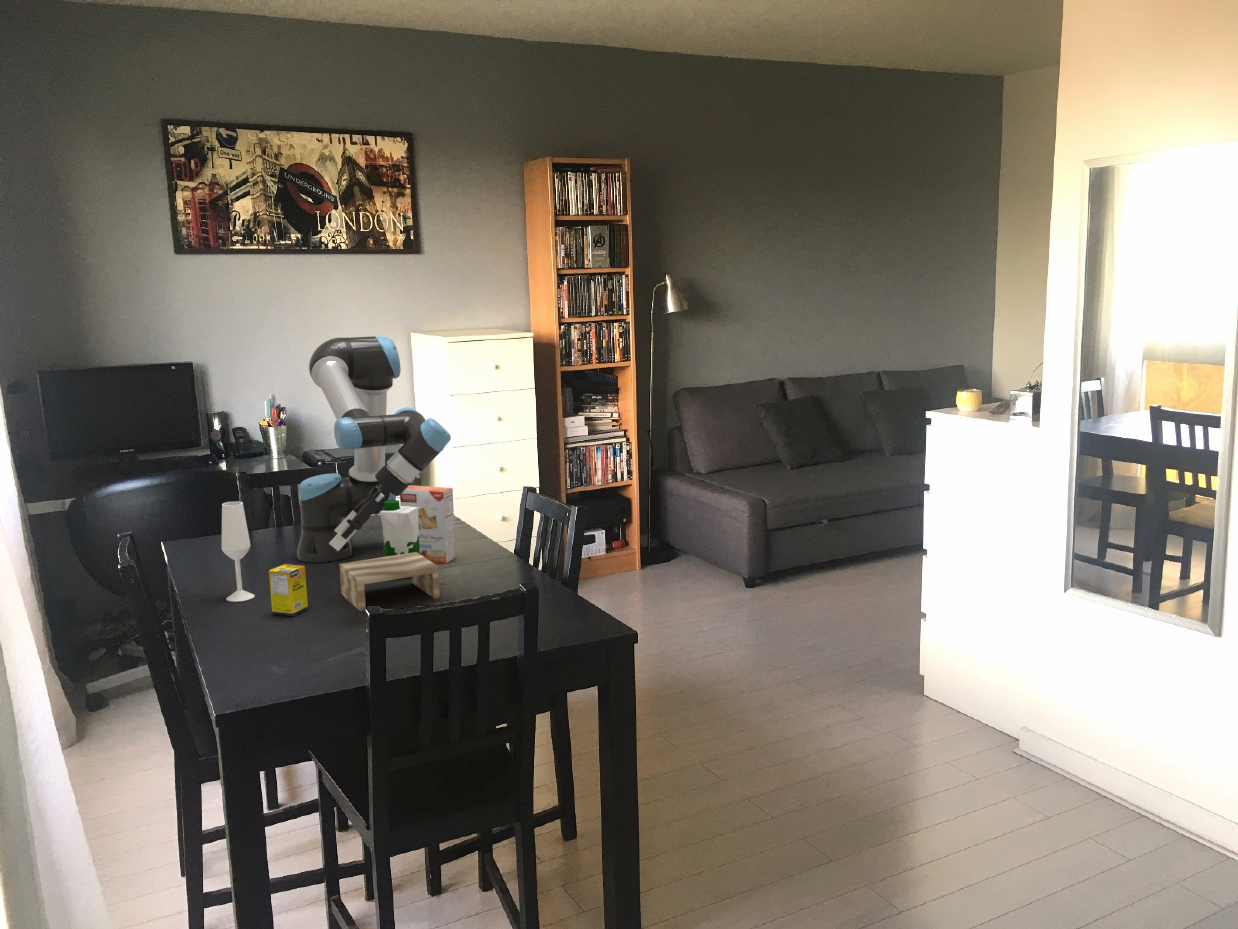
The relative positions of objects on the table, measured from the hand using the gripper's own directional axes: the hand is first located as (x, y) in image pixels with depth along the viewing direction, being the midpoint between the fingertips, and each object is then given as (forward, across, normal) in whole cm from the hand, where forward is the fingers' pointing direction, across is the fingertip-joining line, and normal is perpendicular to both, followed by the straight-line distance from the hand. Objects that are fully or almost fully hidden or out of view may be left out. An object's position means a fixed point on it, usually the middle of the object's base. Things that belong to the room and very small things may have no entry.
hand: (336, 540), depth 229 cm
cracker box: (-3, +40, -27) cm, 48 cm away
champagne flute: (+30, +16, +6) cm, 34 cm away
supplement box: (+20, 0, -4) cm, 21 cm away
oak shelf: (+4, +8, -20) cm, 22 cm away
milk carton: (+2, +26, -22) cm, 34 cm away
